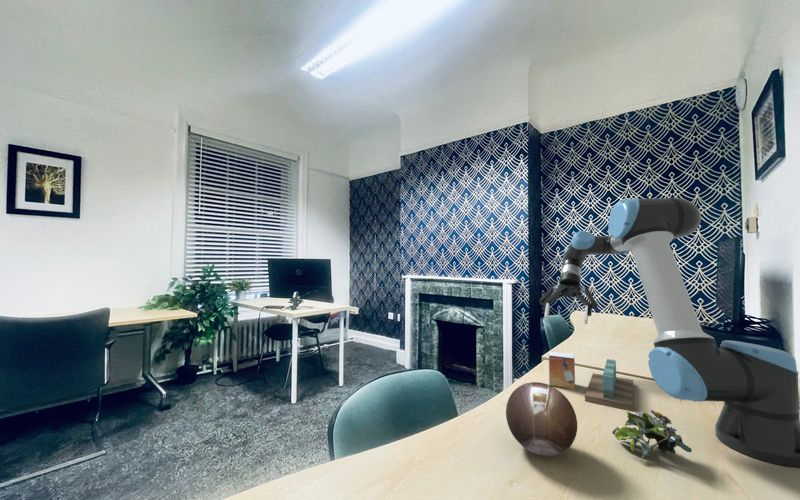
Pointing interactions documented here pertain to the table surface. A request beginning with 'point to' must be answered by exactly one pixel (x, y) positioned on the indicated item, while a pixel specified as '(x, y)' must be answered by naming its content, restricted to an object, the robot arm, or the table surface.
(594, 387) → the ridge stand
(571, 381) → the small box
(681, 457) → the table surface
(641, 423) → the green leafy plant
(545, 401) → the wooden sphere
